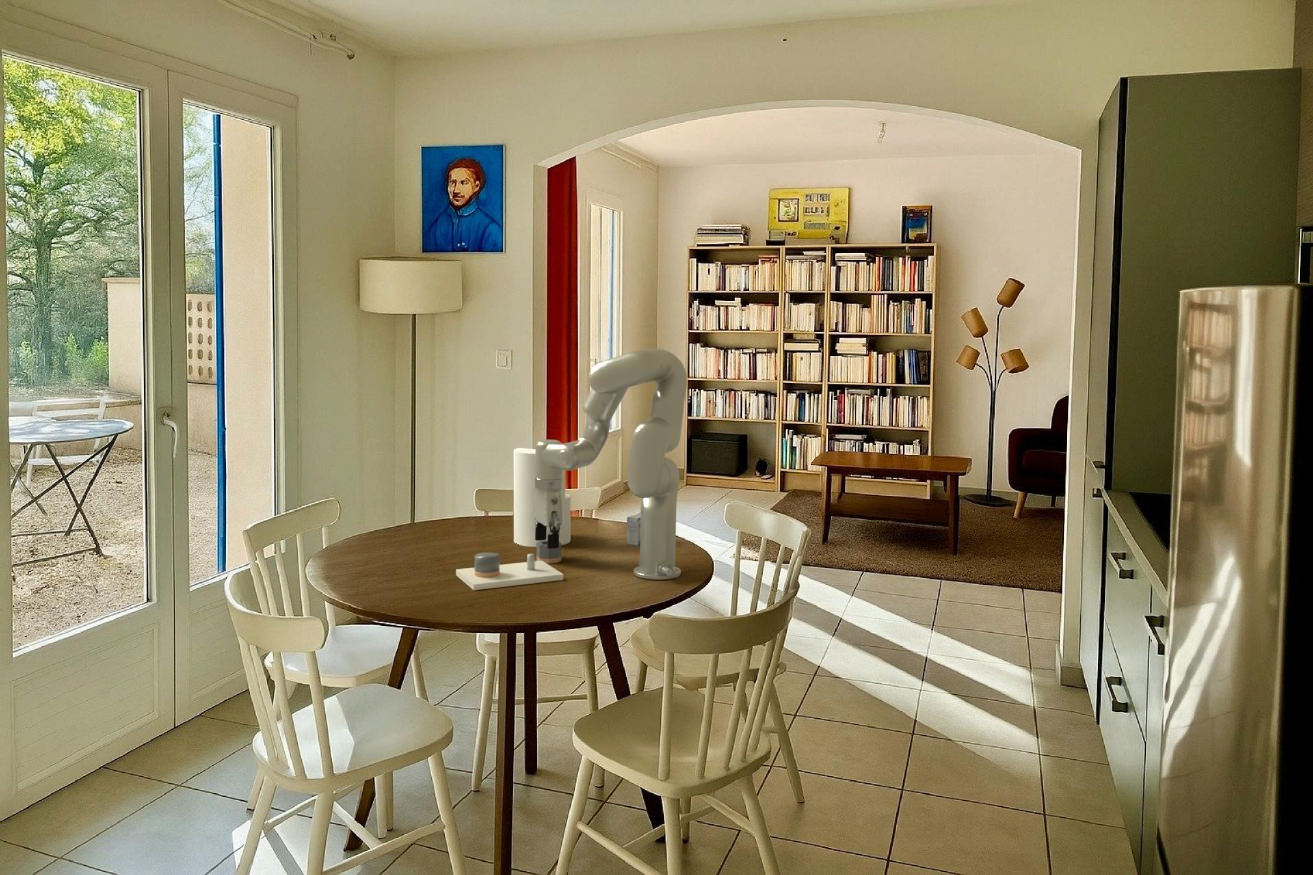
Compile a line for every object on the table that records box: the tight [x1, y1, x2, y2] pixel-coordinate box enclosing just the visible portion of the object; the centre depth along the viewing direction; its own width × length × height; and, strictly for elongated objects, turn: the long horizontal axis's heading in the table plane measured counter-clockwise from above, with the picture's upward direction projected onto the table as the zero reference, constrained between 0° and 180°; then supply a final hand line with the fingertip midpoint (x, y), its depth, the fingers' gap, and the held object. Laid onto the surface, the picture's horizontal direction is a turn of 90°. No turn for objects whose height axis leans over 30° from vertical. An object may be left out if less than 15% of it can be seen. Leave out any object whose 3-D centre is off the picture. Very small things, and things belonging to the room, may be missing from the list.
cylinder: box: [513, 447, 572, 548], centre depth 299 cm, size 17×17×28 cm
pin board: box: [455, 552, 564, 591], centre depth 258 cm, size 16×24×6 cm, turn 117°
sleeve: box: [535, 540, 562, 564], centre depth 276 cm, size 6×6×5 cm
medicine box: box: [626, 513, 641, 547], centre depth 299 cm, size 8×4×9 cm, turn 143°
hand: (546, 544), depth 276 cm, fingers open, 9 cm apart
